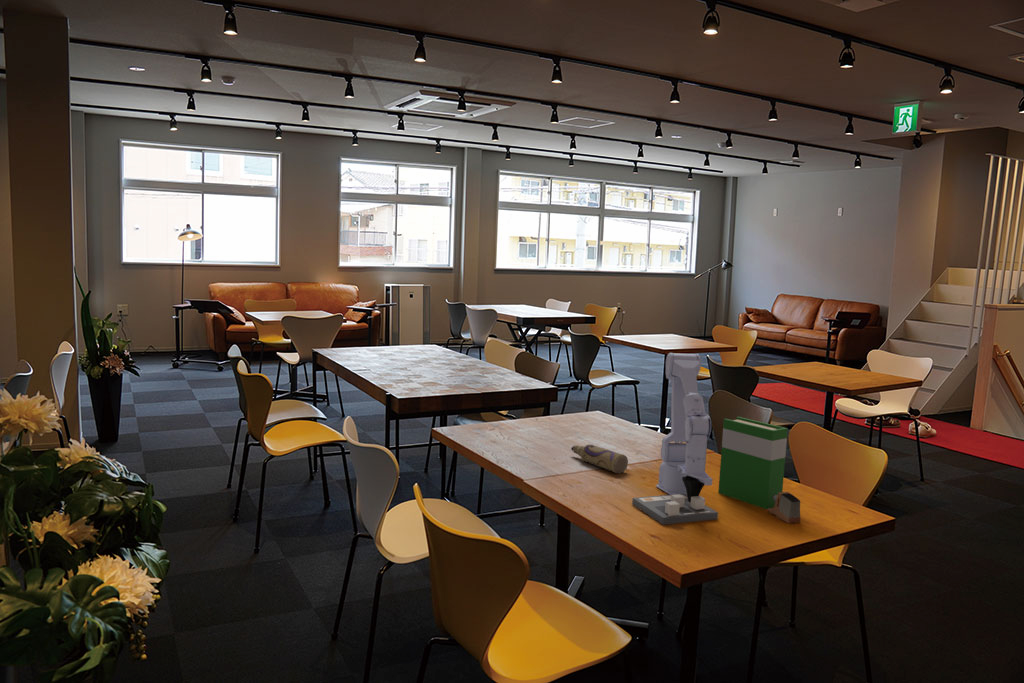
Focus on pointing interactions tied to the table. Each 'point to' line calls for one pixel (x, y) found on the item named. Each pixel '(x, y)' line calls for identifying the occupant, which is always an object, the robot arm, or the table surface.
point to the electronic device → (786, 507)
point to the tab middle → (678, 499)
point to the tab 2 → (697, 502)
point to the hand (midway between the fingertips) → (692, 502)
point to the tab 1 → (672, 508)
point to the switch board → (686, 514)
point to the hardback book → (752, 461)
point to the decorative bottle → (602, 457)
